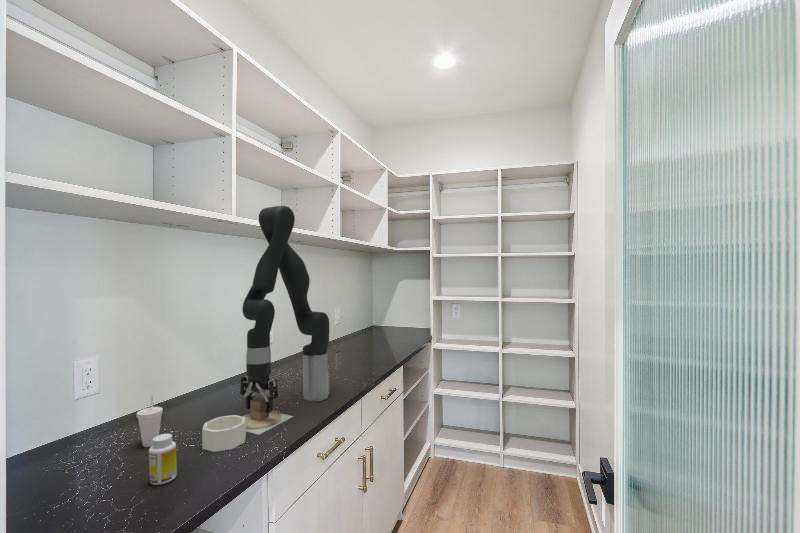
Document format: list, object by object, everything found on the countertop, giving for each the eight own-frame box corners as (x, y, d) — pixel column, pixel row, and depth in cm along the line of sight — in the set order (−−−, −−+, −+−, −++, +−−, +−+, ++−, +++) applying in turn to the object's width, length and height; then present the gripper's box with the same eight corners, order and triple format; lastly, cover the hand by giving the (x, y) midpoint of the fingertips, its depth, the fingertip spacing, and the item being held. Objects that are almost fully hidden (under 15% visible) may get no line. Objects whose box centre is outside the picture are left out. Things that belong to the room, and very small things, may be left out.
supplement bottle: (180, 472, 94) (179, 431, 94) (171, 484, 89) (170, 441, 89) (155, 474, 93) (155, 433, 93) (144, 487, 88) (144, 443, 88)
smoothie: (168, 441, 111) (167, 394, 111) (144, 451, 105) (143, 401, 105) (156, 437, 114) (155, 390, 114) (132, 446, 108) (131, 397, 108)
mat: (260, 411, 133) (260, 409, 133) (293, 417, 127) (293, 416, 127) (224, 427, 120) (224, 425, 120) (259, 436, 113) (259, 434, 113)
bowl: (227, 432, 116) (227, 413, 116) (253, 439, 111) (253, 419, 111) (194, 448, 106) (194, 427, 106) (221, 456, 101) (221, 434, 101)
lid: (260, 410, 132) (260, 390, 132) (289, 416, 126) (288, 395, 126) (229, 425, 120) (228, 403, 120) (259, 432, 114) (259, 409, 114)
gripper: (283, 360, 123) (283, 409, 123) (251, 356, 129) (252, 403, 129) (266, 365, 116) (266, 418, 116) (233, 360, 123) (233, 410, 123)
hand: (259, 410), depth 123 cm, fingers open, 8 cm apart
